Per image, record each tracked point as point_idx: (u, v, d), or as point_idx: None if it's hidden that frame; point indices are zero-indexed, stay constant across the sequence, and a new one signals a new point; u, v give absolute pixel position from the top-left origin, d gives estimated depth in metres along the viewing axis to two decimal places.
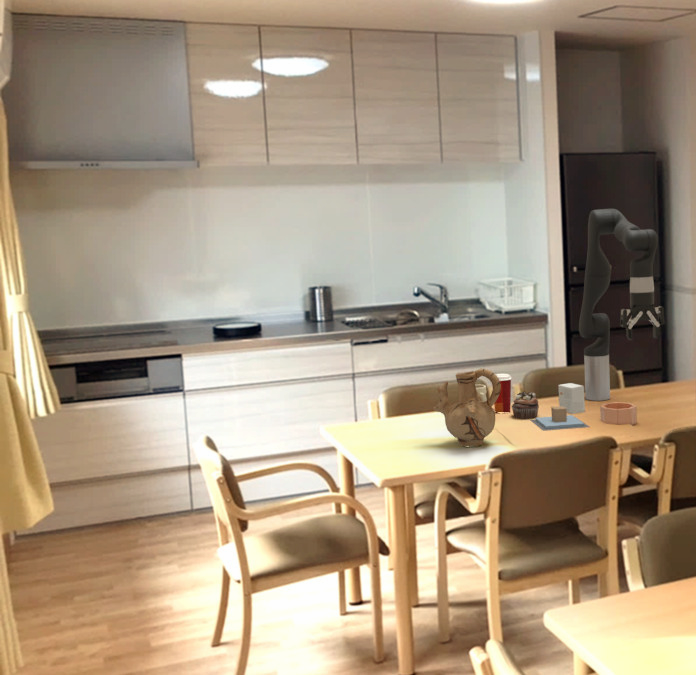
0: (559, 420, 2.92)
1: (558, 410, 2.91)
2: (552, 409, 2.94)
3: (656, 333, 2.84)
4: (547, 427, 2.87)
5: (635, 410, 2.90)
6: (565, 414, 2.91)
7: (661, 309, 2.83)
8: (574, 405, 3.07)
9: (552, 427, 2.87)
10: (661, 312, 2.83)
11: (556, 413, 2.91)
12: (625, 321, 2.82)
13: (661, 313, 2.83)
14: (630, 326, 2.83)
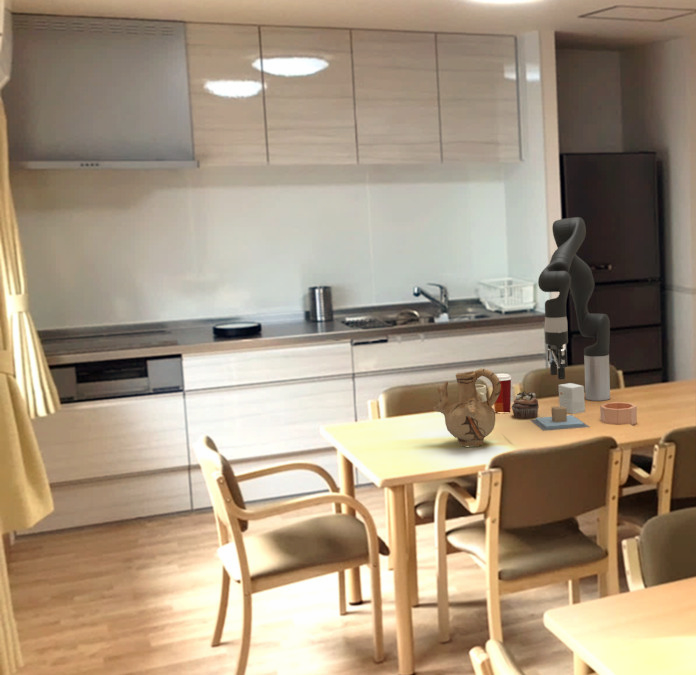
0: (559, 420, 2.92)
1: (558, 410, 2.91)
2: (552, 409, 2.94)
3: (556, 370, 2.96)
4: (547, 427, 2.87)
5: (635, 410, 2.90)
6: (565, 414, 2.91)
7: None
8: (574, 405, 3.07)
9: (552, 427, 2.87)
10: None
11: (556, 413, 2.91)
12: None
13: None
14: None
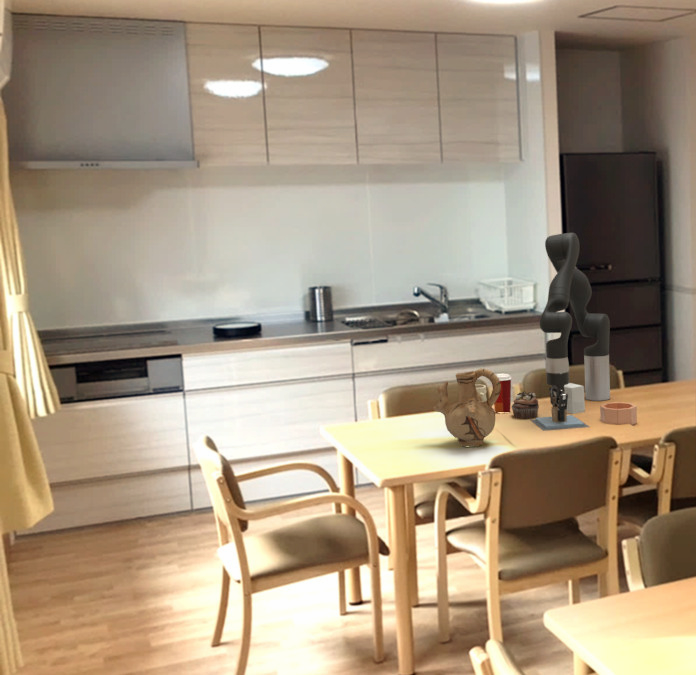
0: None
1: None
2: (552, 409, 2.94)
3: None
4: (547, 427, 2.87)
5: (635, 410, 2.90)
6: (565, 414, 2.91)
7: None
8: (574, 405, 3.07)
9: (552, 427, 2.87)
10: None
11: (556, 413, 2.91)
12: None
13: None
14: None
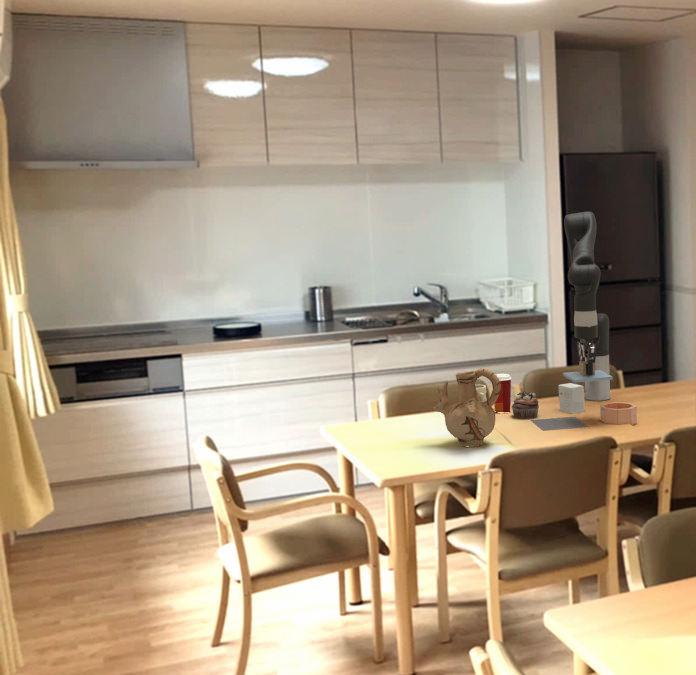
0: None
1: None
2: (580, 363, 2.92)
3: None
4: (575, 380, 2.85)
5: (635, 410, 2.90)
6: (593, 368, 2.89)
7: None
8: (574, 405, 3.07)
9: (580, 380, 2.85)
10: None
11: (584, 367, 2.89)
12: None
13: None
14: None
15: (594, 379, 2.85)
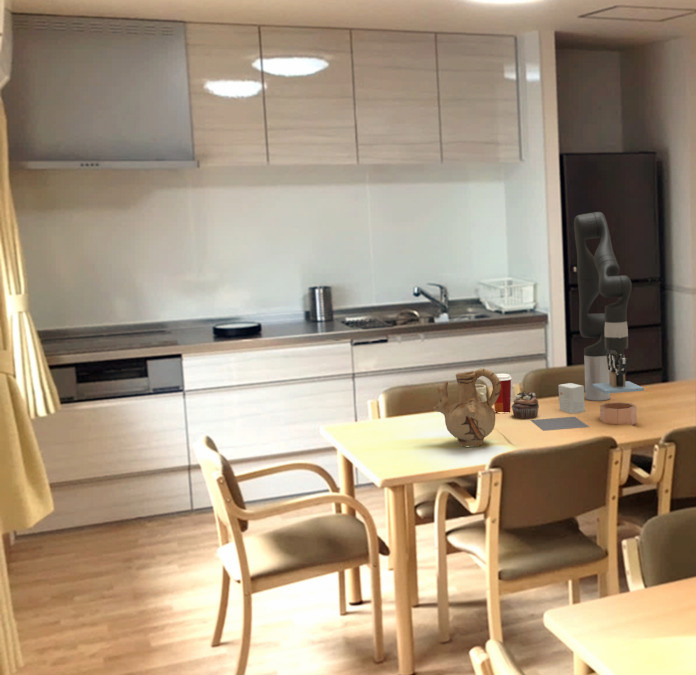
0: None
1: None
2: (610, 374, 2.92)
3: None
4: (606, 391, 2.85)
5: (635, 410, 2.90)
6: (624, 379, 2.89)
7: None
8: (574, 405, 3.07)
9: (611, 391, 2.85)
10: None
11: (615, 378, 2.89)
12: None
13: None
14: None
15: (625, 390, 2.85)
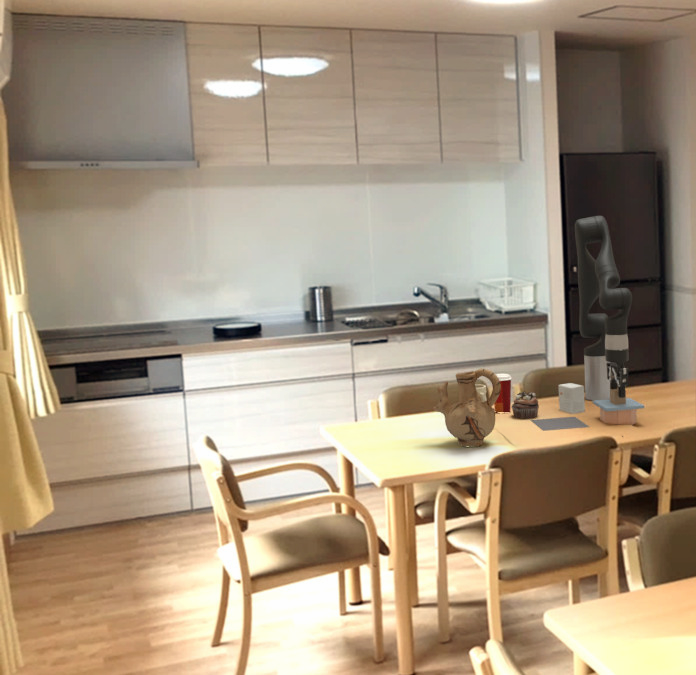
0: (618, 402, 2.90)
1: (617, 392, 2.90)
2: (611, 391, 2.92)
3: (616, 388, 2.95)
4: (607, 409, 2.85)
5: (635, 410, 2.90)
6: None
7: None
8: (574, 405, 3.07)
9: (612, 409, 2.86)
10: None
11: (615, 395, 2.90)
12: None
13: None
14: None
15: (626, 408, 2.86)
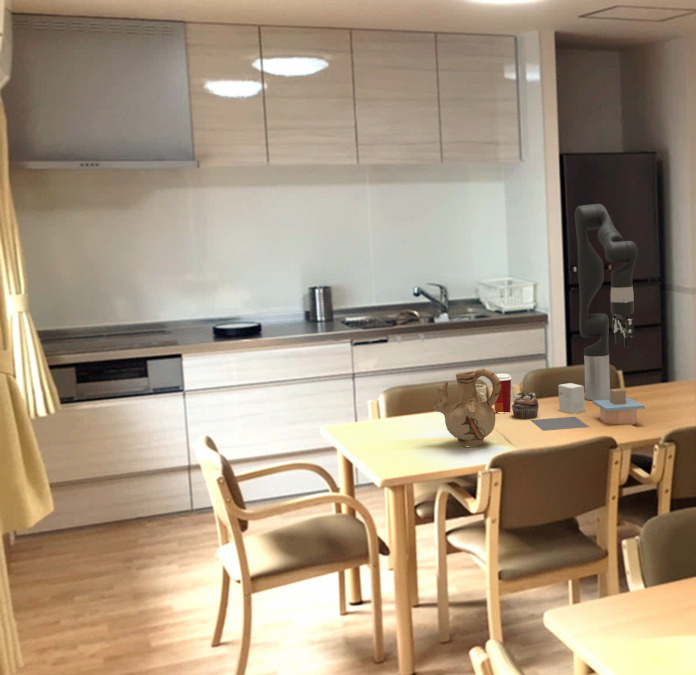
0: (618, 402, 2.90)
1: (617, 392, 2.90)
2: (611, 391, 2.92)
3: None
4: (607, 409, 2.85)
5: (635, 410, 2.90)
6: (624, 396, 2.90)
7: None
8: (574, 405, 3.07)
9: (612, 409, 2.86)
10: None
11: (615, 395, 2.90)
12: None
13: None
14: None
15: (626, 408, 2.86)
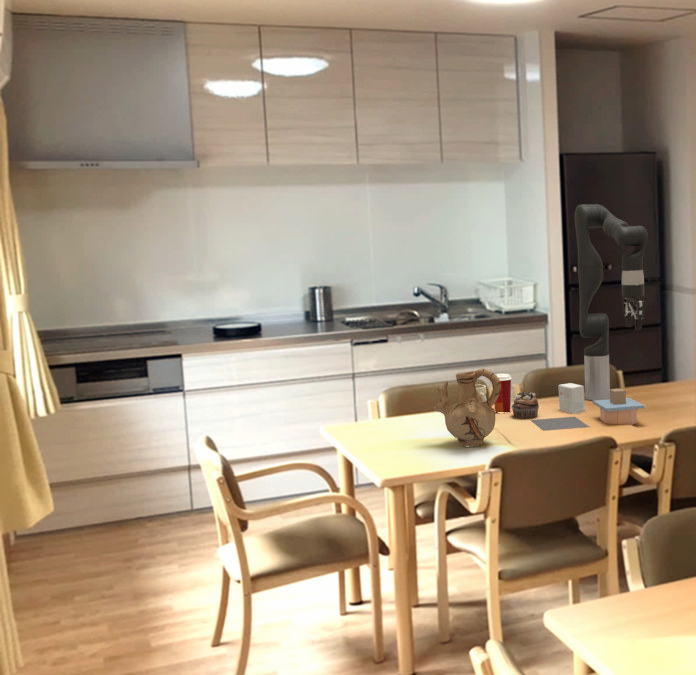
0: (618, 402, 2.90)
1: (617, 392, 2.90)
2: (611, 391, 2.92)
3: (631, 322, 3.09)
4: (607, 409, 2.85)
5: (635, 410, 2.90)
6: (624, 396, 2.90)
7: None
8: (574, 405, 3.07)
9: (612, 409, 2.86)
10: None
11: (615, 395, 2.90)
12: None
13: None
14: None
15: (626, 408, 2.86)
